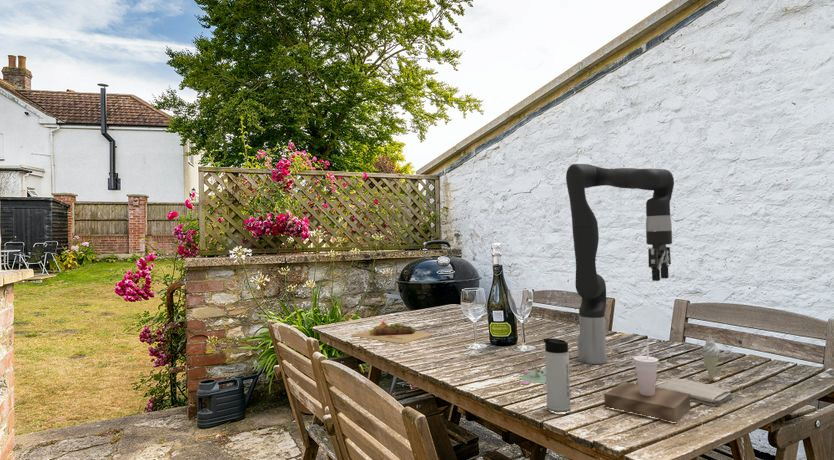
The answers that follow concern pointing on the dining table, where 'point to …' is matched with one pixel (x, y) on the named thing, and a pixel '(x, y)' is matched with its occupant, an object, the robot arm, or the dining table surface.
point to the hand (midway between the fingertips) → (660, 279)
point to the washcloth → (698, 391)
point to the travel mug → (557, 375)
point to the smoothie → (646, 373)
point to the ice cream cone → (710, 356)
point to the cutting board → (393, 333)
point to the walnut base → (648, 402)
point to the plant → (534, 375)
